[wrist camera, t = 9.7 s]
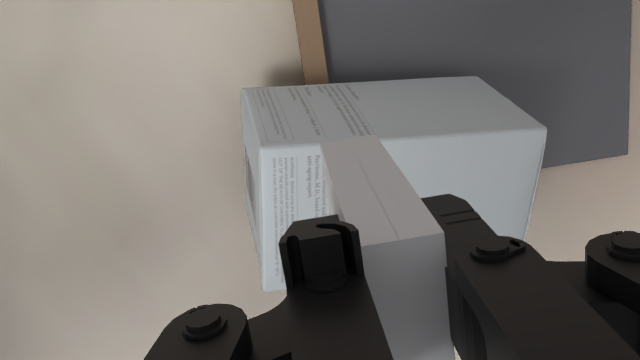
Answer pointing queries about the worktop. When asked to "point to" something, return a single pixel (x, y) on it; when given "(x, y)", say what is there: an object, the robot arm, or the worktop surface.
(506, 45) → the mat
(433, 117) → the supplement box
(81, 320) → the worktop surface
